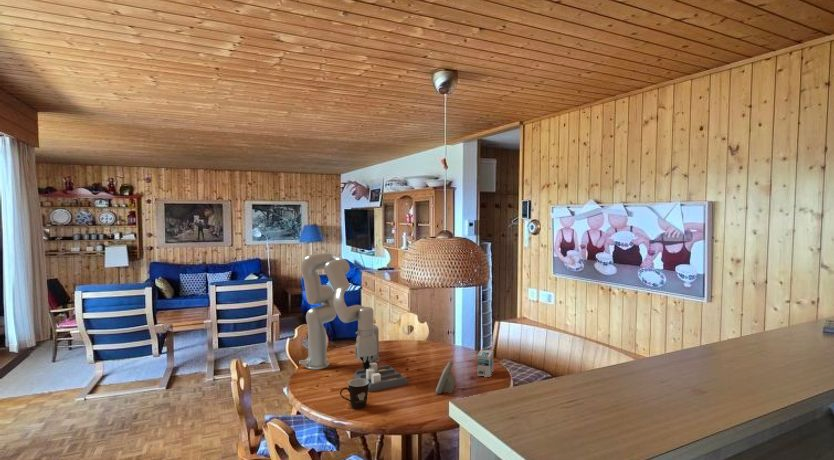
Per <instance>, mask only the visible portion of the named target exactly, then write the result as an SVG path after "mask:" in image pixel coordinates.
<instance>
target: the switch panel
mask: <svg viewBox="0 0 834 460" xmlns="http://www.w3.org/2000/svg"><path fill="white" fill-rule="evenodd" d="M377 370H378V371H377V372H375V373H379V374H380V375H381V382H377V383H371V378H370V379H367V378H366V370H365V369H364V368H362V369H357V370H356V371H355V373H353V378H354V379H366V380H368V381H369V386H368V393H369V392H375V391H380V390H381V391H382V390H384V389H390V388H394V387H400V386H405V385H408V384H409V380H408V379H407V378H406V376H403V374H402V373H400V372H398V371H397V370H396V369H395V368H393V367H392V366H390V364H387V365H380V366H377Z"/></svg>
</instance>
